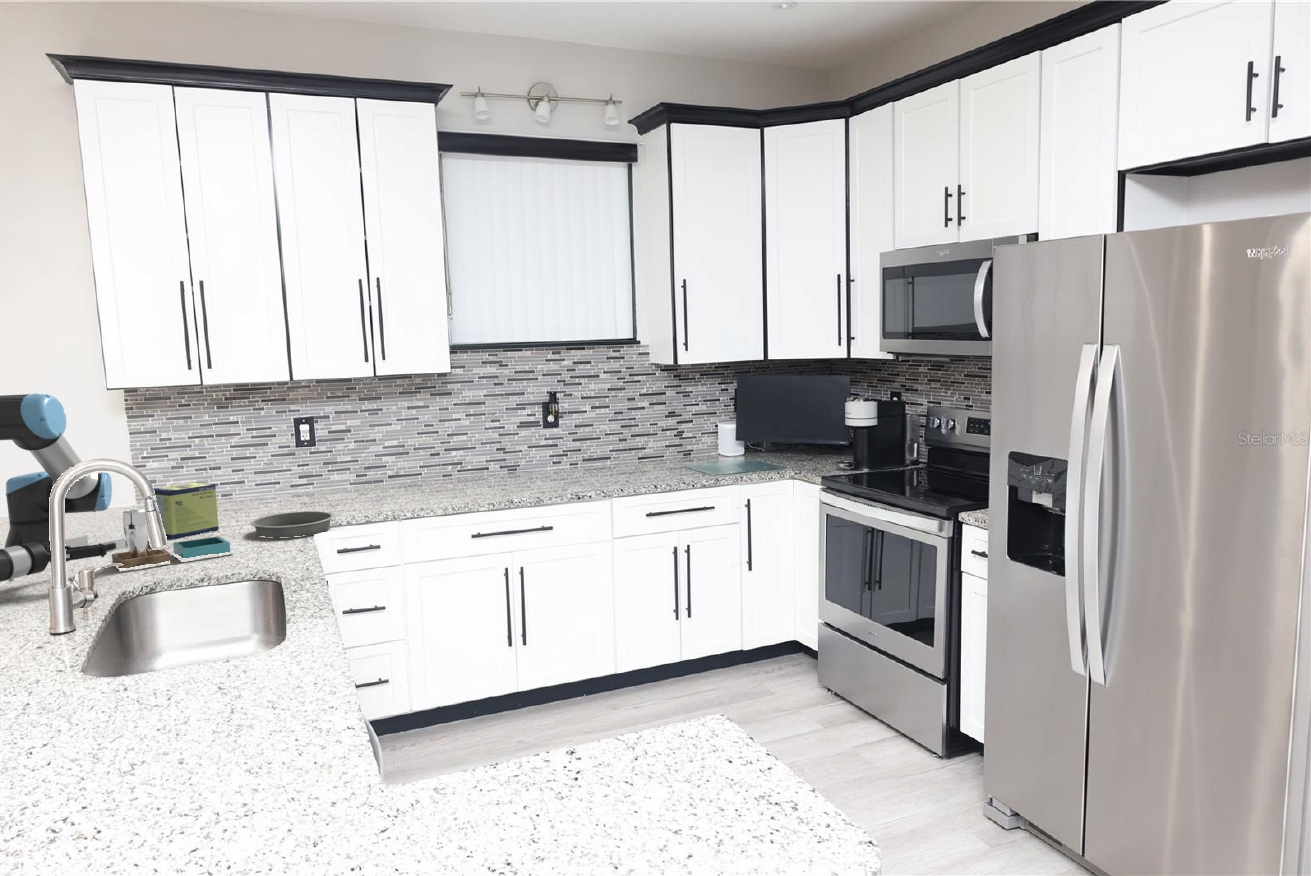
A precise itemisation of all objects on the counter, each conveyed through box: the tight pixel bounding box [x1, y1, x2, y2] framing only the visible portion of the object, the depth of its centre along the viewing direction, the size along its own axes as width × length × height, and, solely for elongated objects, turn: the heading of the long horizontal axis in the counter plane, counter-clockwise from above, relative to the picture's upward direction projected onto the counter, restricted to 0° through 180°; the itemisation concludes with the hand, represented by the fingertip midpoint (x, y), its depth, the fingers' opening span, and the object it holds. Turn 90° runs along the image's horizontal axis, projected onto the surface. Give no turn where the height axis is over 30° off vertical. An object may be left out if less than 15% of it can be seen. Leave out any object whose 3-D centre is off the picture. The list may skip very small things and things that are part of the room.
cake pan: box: [250, 510, 334, 539], centre depth 273 cm, size 25×25×4 cm
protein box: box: [153, 481, 220, 540], centre depth 273 cm, size 10×16×16 cm
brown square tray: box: [111, 548, 172, 568], centre depth 233 cm, size 12×12×3 cm
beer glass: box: [122, 508, 153, 559], centre depth 232 cm, size 7×7×15 cm
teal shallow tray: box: [172, 535, 231, 558], centre depth 242 cm, size 13×13×4 cm
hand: (105, 541), depth 223 cm, fingers open, 13 cm apart
